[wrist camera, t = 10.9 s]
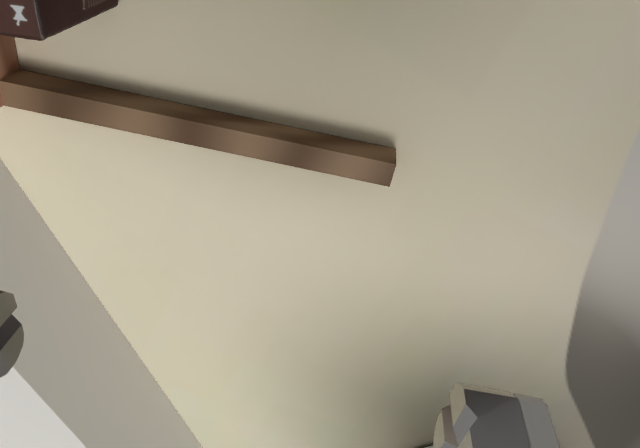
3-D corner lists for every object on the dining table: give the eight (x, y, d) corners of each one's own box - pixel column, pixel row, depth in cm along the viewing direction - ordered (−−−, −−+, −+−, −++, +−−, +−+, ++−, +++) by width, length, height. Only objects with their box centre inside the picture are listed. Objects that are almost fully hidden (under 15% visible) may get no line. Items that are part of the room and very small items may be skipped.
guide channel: (466, -94, 23) (479, -89, 20) (389, 170, 31) (389, 205, 28) (-73, -210, 23) (-151, -225, 19) (-8, 86, 31) (-56, 111, 27)
